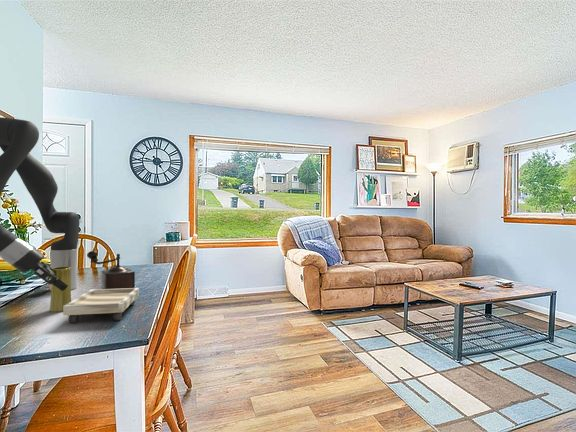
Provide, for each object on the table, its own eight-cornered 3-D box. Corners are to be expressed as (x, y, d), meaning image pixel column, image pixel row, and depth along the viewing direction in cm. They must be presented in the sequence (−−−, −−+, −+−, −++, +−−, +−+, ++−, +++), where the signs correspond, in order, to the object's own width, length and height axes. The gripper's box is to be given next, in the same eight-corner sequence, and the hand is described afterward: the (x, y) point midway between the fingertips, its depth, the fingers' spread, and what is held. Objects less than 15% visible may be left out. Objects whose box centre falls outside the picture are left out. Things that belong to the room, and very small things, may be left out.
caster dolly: (90, 305, 109) (90, 289, 109) (138, 303, 113) (138, 287, 112) (63, 325, 89) (63, 306, 89) (122, 322, 93) (122, 303, 93)
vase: (59, 312, 100) (60, 269, 100) (44, 311, 102) (45, 268, 102) (76, 307, 106) (76, 266, 106) (61, 305, 108) (62, 265, 108)
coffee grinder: (127, 288, 133) (127, 248, 133) (135, 293, 125) (136, 250, 125) (85, 294, 122) (85, 250, 122) (91, 300, 114) (92, 253, 114)
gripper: (31, 248, 94) (76, 281, 101) (33, 244, 105) (73, 274, 112) (7, 267, 90) (55, 299, 97) (12, 261, 101) (55, 290, 109)
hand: (65, 286), depth 105 cm, fingers open, 8 cm apart
